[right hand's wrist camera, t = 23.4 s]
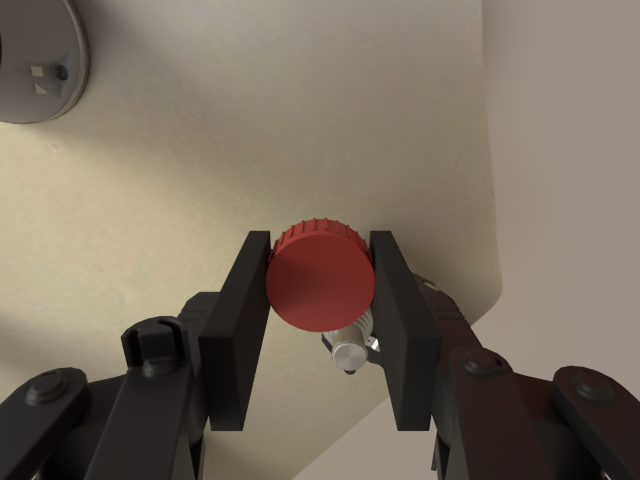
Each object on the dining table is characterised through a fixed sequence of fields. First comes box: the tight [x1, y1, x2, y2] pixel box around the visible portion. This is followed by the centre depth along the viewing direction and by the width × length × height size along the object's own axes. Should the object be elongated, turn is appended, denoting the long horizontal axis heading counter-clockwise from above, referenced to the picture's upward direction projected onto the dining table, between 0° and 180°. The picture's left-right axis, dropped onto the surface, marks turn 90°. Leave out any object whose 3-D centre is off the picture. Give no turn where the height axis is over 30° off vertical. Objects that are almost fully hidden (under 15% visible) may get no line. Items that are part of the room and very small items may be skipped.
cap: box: [265, 218, 375, 332], centre depth 14 cm, size 4×4×2 cm
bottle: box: [323, 306, 373, 371], centre depth 37 cm, size 5×5×17 cm
